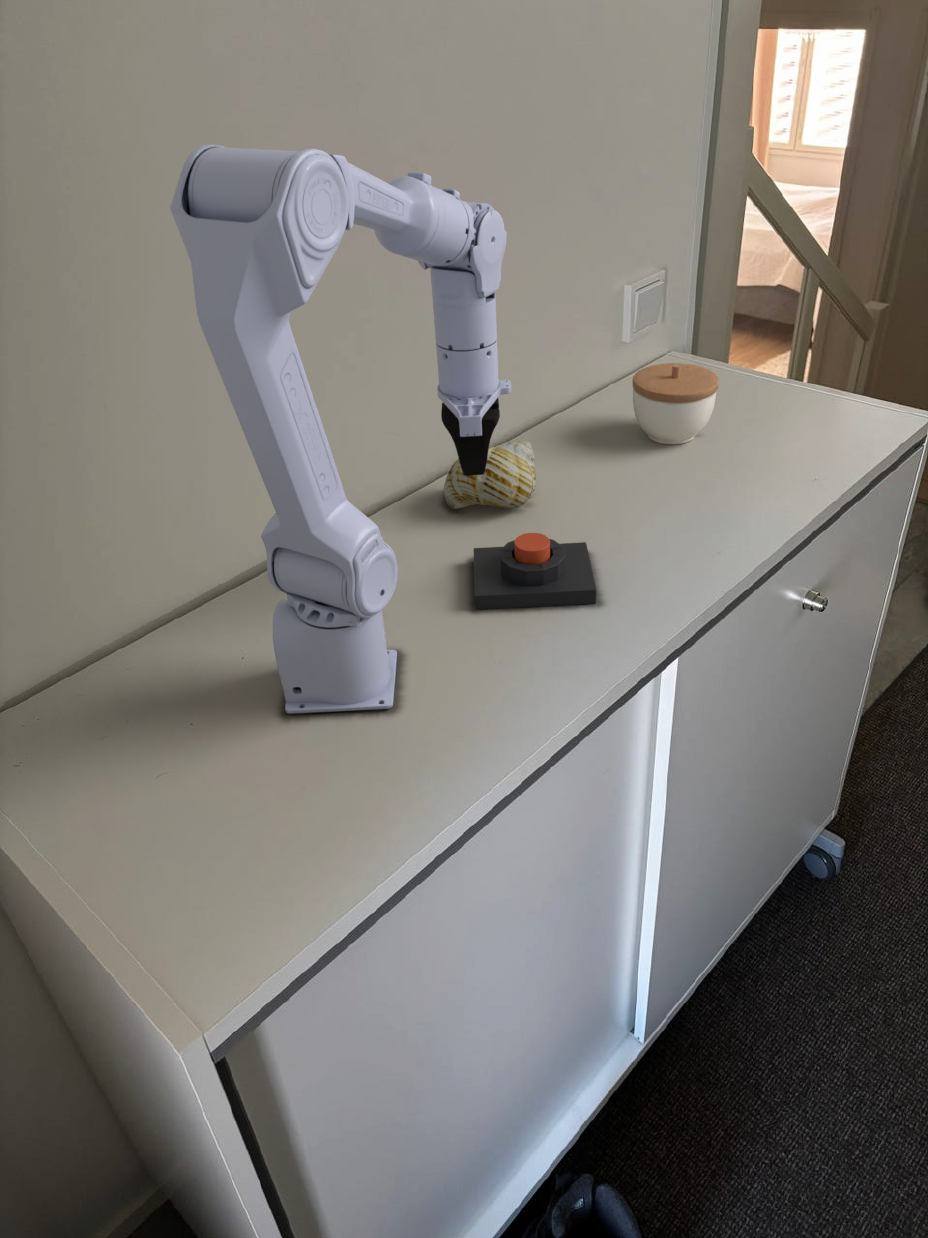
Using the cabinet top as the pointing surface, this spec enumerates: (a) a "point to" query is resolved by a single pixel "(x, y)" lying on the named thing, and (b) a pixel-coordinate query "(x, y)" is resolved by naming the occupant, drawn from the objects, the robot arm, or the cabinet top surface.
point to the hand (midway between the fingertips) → (473, 472)
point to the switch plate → (533, 578)
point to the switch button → (532, 548)
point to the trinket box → (674, 401)
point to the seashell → (495, 479)
